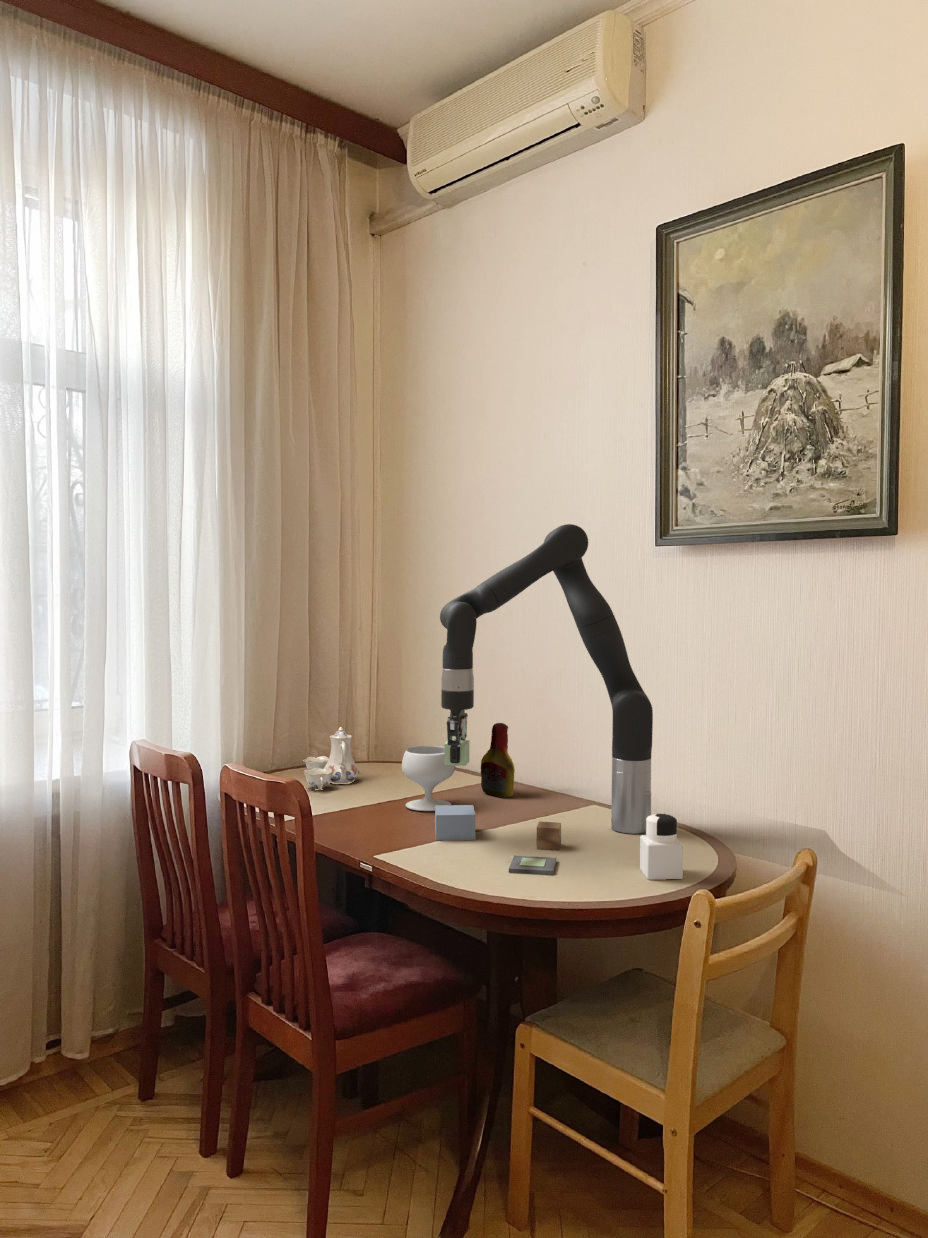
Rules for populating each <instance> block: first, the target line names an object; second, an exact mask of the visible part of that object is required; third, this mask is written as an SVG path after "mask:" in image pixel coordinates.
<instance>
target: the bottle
mask: <svg viewBox="0 0 928 1238" xmlns="http://www.w3.org/2000/svg"><path fill="white" fill-rule="evenodd" d="M508 730H509V726H508V725H506V724H505V723H503V722H497V723H494V724H493V725H492V728H491V736H490V737H491V738H490V747H489V749H488V750H487V751H486V753H485V754H483V756H482V758H481V760H480V777H481V779H480V786H481V789H482V791H483V793H485V794H486V795H487V794H488V795H491V796H495V797H498V798H504V799H505V798H510V797H512V796H513V794H514V785H515V770H516V769H515V764H514V762H513V758H511V756H510V755H509V752H508V751H509V750H508V748H509V736H508V735H509V734H508Z"/></svg>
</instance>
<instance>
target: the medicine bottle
mask: <svg viewBox="0 0 928 1238" xmlns="http://www.w3.org/2000/svg"><path fill="white" fill-rule="evenodd" d="M677 825H678V820H677V818H676V817H675V816H673V815H670V814H667V813H654V814H651V815H650V816H648V817H647V818H646V833H645V834H644V835H643V834H642V835H640V839H639V840H640V841H639V842H640V843H639V869H640V871H641V872H642V874H643V876H644V877H645V878H646V879H647V880H648V881H650V880H651V881H653V880H654V881H659V880H660V881H662V880H665V881H667V880H666V879H681V880H683V876H684V875H683V874H684V873H683V871H684V868H683V867H684V845H683V844H682V843H681V841H680V840H679V839H678V838H677V836H678V834H677V833H678V832H677V831H678V829H677V828H678V826H677Z"/></svg>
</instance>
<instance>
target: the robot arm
mask: <svg viewBox="0 0 928 1238" xmlns="http://www.w3.org/2000/svg"><path fill="white" fill-rule="evenodd" d="M588 548H589V538H588V535H587V532H586V531H585V530H584V529H583V528H582V527H580V526H579V525H576V524H571V523H569V524H568V523H567V524H563V525H560V526H558V527H556V528H555V529H553V530H552V531H550V532H549V533H547V535H546V536H545V538H544V540H543V543H542V544H541V545H539V546H538V547H537V548H535V549H534V550H533V551H531V552H530V553H528V554H527V555H525V556H524V557H522V558H521V559H519V560H517V561H515V562H514V563H512V564H510V565H509V566H506V567H505V568H503V569H501V570H499V571H498V572H496V573H495V574H493V575H492V576H490V577H488V578H487V579H485V580H484V581H483V582H481V583H480V584H478V585H476V587H474V588H473V589H471V590H469V591H467V592H464V593H463V594H460V595H458V596H457V597H455V598H453V599H452V600H450V601H449V602H447V603H445V605H444V606H443V607H442V608H441V610H440V614H439V620H440V623H441V625H442V627H444V628H445V629H446V631H447V632H446V644H445V645H444V646H443V648H442V669H441V670H442V671H441V678H440V679H441V682H440V683H441V685H440V686H441V689H440V690H441V691H440V692H441V695H440V696H441V697H440V698H441V700H440V701H441V702H440V706H441V708H442V709H445V710H449V711H450V715H449V716H447V721H446V732H447V735H446V736H447V738H446V739H447V741H448V742H447V741H446V742H447V744H448V745H449V747H450V762H451V763H459V762H460V746H461V740H467V737H468V735H467V732H468V729H467V728H468V717H469V716H468V713H467V712H465V711H467V710H471V709H473V708H474V707H475V705H474V703H475V702H474V701H475V698H474V697H475V691H474V690H475V689H474V688H475V685H474V684H475V681H474V680H475V677H474V652H473V651H474V650H473V649H474V648H473V647H474V643H475V639H476V632H477V623H478V622H477V619H478V618H480V617H482V616H483V615H486V614H490V613H492V612H494V611H497V609H499V608H501V607H503V606H504V605H505V604H506V603H508V602H509V601H511V600H512V599H514V598H516V597H517V596H518V595H519V594H521V593H523V592H524V591H525V590H526V589H528V588H529V587H530V586H531V585H533V584H534V583H535V582H537V581H538V580H540V579H542V578H543V577H544V576H546V575H548V574H550V573H551V572H553V573H554V576H555V577H556V580H557V581H558V583H559V585H560V586H561V589H562V591H563V594H564V597H565V599H566V601H567V604H568V605H567V606H568V607H569V610H570V612H571V615H572V618H573V620H574V622H575V625H576V628H577V630H578V632H579V636H580V638H581V640H582V642H583V645H584V647H585V648H586V650H587V653H588V655H589V656H590V659H591V660H592V661H593V663H594V665H595V666H596V668H597V669H598V671H599V673H600V675H601V677H602V680H603V681H604V684H605V687H606V690H607V694H608V697H609V700H610V705H611V707H612V708H611V710H612V736H611V737H612V741H611V743H612V744H611V806H610V808H611V816H610V817H611V818H610V823H611V824H610V827H611V829H612V830H614V831H615V832H618V833H621V834H622V833H624V834H633V835H634V834H635V835H636V834H637V835H638V834H646V818H647V817H648V816H650V815H652V749H653V731H654V730H653V724H654V719H653V717H654V716H653V714H654V713H653V712H654V711H653V705H652V703H651V700H650V699H649V696H647V694H646V692H645V691H644V689H643V688H642V686H641V684H640V682H639V680H638V678H637V676H636V674H635V672H634V670H633V668H632V665H631V662H630V659H629V656H628V652H627V647H626V644H625V641H624V638H623V634H622V631H621V629H620V626H619V624H618V623H619V622H618V621H617V619H616V616H615V614H614V612H613V610H612V607H611V606H610V604H609V603H608V601H607V600H606V598H605V597H604V596H603V595H602V593H601V592H600V590H598V589H597V587H596V585H595V584H594V583H593V581H592V580H591V578H590V576H589V573H588V572H587V569H586V567H585V563H584V561H583V557H584V556H585V554H586V553H587V551H588Z"/></svg>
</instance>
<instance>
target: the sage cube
mask: <svg viewBox="0 0 928 1238" xmlns="http://www.w3.org/2000/svg"><path fill="white" fill-rule="evenodd" d="M447 742H448V740H446V741H445V742H444V746H443V747H444V765H455V767H456V766H459V767H461V766H462V767H463V766H464V767H465V766H468V764H469V763H470V740H469V739H468V740H467V739H466V740H461V746H460V762H459V763H451V762H450V747H449V745H448V744H447Z"/></svg>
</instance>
